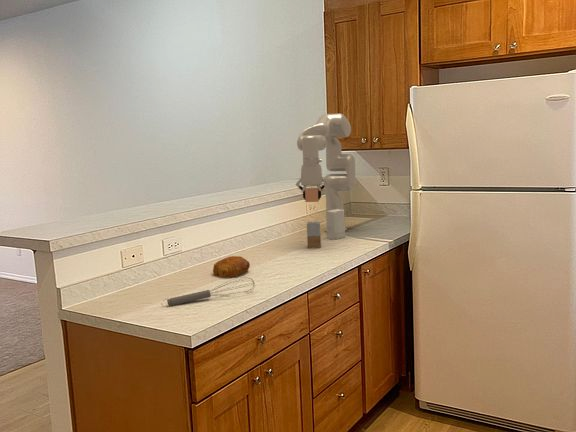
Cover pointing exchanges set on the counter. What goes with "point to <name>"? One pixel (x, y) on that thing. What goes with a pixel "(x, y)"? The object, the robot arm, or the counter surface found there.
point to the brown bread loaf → (231, 267)
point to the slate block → (313, 228)
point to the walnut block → (314, 241)
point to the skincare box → (335, 224)
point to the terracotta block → (311, 194)
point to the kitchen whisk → (201, 295)
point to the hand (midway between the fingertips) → (312, 199)
